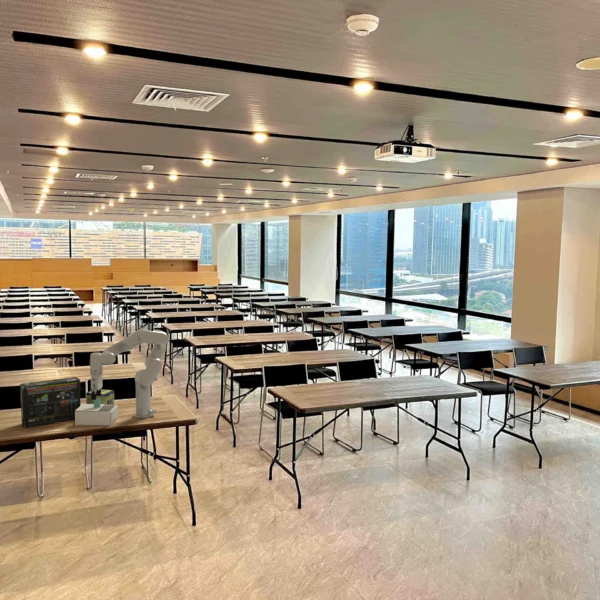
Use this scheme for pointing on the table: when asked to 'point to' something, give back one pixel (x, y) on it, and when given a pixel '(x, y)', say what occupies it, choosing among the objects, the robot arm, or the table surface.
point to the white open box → (97, 416)
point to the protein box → (102, 397)
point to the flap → (91, 406)
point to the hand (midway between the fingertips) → (96, 397)
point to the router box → (49, 401)
